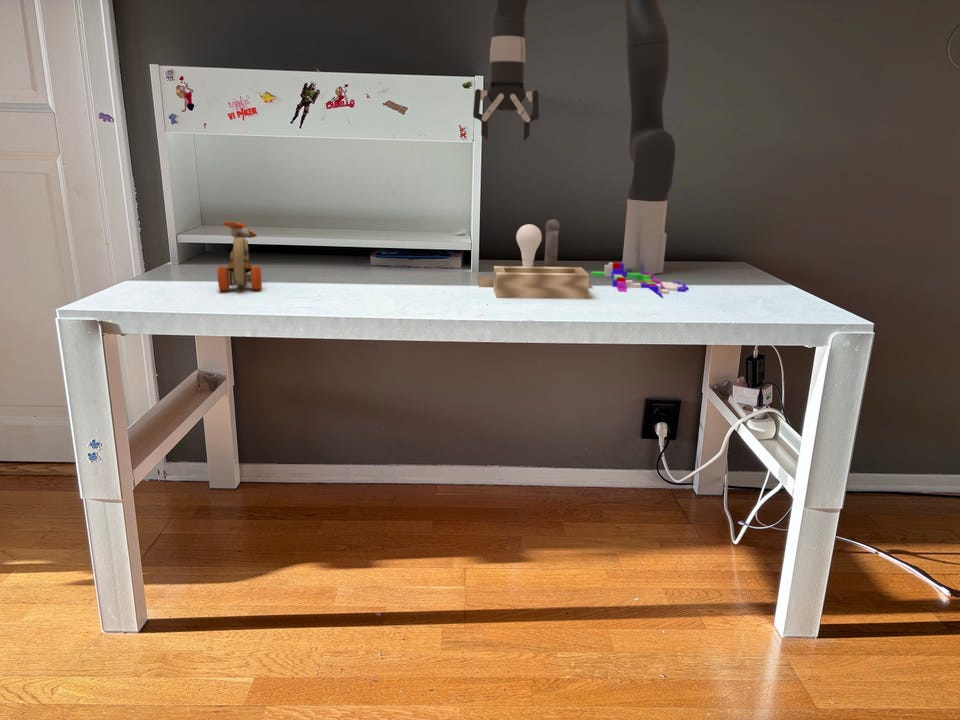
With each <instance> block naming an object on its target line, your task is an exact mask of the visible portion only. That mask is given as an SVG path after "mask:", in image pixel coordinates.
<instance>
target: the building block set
mask: <svg viewBox="0 0 960 720" xmlns="http://www.w3.org/2000/svg"><path fill="white" fill-rule="evenodd" d="M590 275H591V276H592V277H611V279H612V283H611V284H612V288H616V289H617V291H618V292H621V293H623V292H624V293H628V290H627V288H629V289H631V288H632V289H648V290H650V291H652V292H653V293H655V294H656V295H657V296H658V297H660V298H661V299H663V294H664V295H667V294H669V293H670V291H674V292H678V293H679V292H681V293H682V292H683V293H687V291H690V290H689V287H688V286H687V285H686V283H681V281H660V280H659V279H658V278H657V279H655V278H654V274H648V272H640V273H629V272H627V271H626V270H624V263H622V262H608V264H604V271H594V270H593V271H591V272H590ZM626 278H635V279H636V280H637V281H638V282H634V281H633V280H631V279H629V280H628V279H626Z"/></svg>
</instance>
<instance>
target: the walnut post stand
mask: <svg viewBox="0 0 960 720" xmlns="http://www.w3.org/2000/svg"><path fill="white" fill-rule="evenodd" d="M560 229H561V226H560V222H559V221H558V220H557V219H549V220H547V222H546V223H545V248H544V249H545V250H544V266H543V267H558V266H557V265H558V263H557V262H558V245H559V230H560ZM476 280H477V283H478V287H479V288H493V286H494V276H476ZM589 289H592V290H593V289H595V288H594V287H593V286H592V285H591V284H590V283H589Z"/></svg>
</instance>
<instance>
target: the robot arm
mask: <svg viewBox="0 0 960 720" xmlns="http://www.w3.org/2000/svg"><path fill="white" fill-rule="evenodd" d="M624 1H625V23H626V25H625V27H626V28H625V29H626V57H627V58H626V60H627V61H626V62H627V63H626V64H627V75H628V87H629V88H628V89H629V98H630V114H631V116H630V132H629V147H628V149H629V157H630V159H631V161H632V163H633V171H632V174H633V175H632V180H631V183H630V186H629V187H628V192H627V203H626V204H627V205H626V206H627V207H626V217H625V229H624V230H625V231H624V240H623V242H624V243H623V250H622V251H623V252H622V261H621V263H624V270H626V271H627V273H640V272H648V274H653V275H657V274H663V273H664V265H665V255H666V254H665V253H666V245H667V236H668V235H667V233H666V232H665V226H666V217H667V209H668V199H669V193H670V190H671V187H672V183H673V177H674V169H675V168H674V167H675V161H676V142H675V140H674V138H673V136H672V134H670V133H669V132H668V131H666V130H665V126H664V116H663V113H664V111H663V107H664V106H663V105H664V103H663V102H664V96H665V92H666V86H667V82H668V76H669V69H670V43H669V42H670V39H669V31H668V28H667V24H666V21H665V18H664V16H663V14H662V11H661V9H660V6H659V3H658V0H624ZM528 2H529V0H496V6H495V8H494V10H493V13H492V16H491V17H492V20H491V42H490V51H489V52H490V54H489V86H488V89H486V90H485V89H479V88H476V89H475V91H474V96H473V97H474V99H473V112H472V116H473V118H474V119H476V120H479V121H480V123H481V127H480V128H481V129H480V135H481V137H482V138H483V140H485V141H488V139H489V138H488V137H489V135H488V134H489V122H488V120H489V118H490V116H491V115H492V114H493V112H494V111H495V110H497V111H498V112H503V111H507V112H514V111H517V113H518V115H519V116H520V117H521V118H522V120H523V123H522V131H521V132H522V134H521V136H522V137H521V139H522V140H521V141H527V138H529V137H530V133H531V132H530V128H531V123H532V122H533V121H536V120H538V119H539V117H540V116H539V113H540V112H539V106H540V105H539V91H538V90H532V91H531V90H530V91H526V89H525V72H526V71H525V69H526V68H525V67H526V41H525V40H526V39H525V38H526V37H525V35H526V12H527V7H528ZM486 96H487V98H488V99H489V102H490V105H489V107H488V108H487V109H486V110H485V112H484V113H483V114H481V113H480V110H481V109H480V108H481V101H483V100H484V99H485V97H486ZM526 97H527V99H528V102H531V114H530V115H529V114H528V112H527V110H526V109H525V108H524V105H523V104H522V103H523V101H524V100H525V98H526Z"/></svg>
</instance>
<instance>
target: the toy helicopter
mask: <svg viewBox="0 0 960 720" xmlns="http://www.w3.org/2000/svg"><path fill="white" fill-rule="evenodd" d="M221 225H223V226H226V227H228V228H230V231H229V233H230V235H231V237H233V241H232V242H233V244H232V245H233V246H232V250H231V252H230V254H229V258H230V261H231V262H230V263H228V266H218V267H217V283H218V289H219V291H220V292H228V291H229V289H230V287H231V286H232V287H233V286H238V287H239V286H245V285H247V282H250V283H251V284H250V285H251V289H252V290H254V291H256V290H257V291H259V290H262V287H263V286H262V285H263V284H262V282H263V281H262V269H261V267H260V266H259V265H252V266H251V264H250V263H248V262H249V259H250V254H249V241H248V240H247V239H248V238H249V239H250V238H251V239H252V238H255V237H258V235H257V234H256V233H255V232H253V231H251V230H250V229H248V228H247V227H246V225H245V224H244V223H242V222H235V221H223V222H221ZM246 238H247V239H246ZM248 273H250V275H247V274H248Z"/></svg>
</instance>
